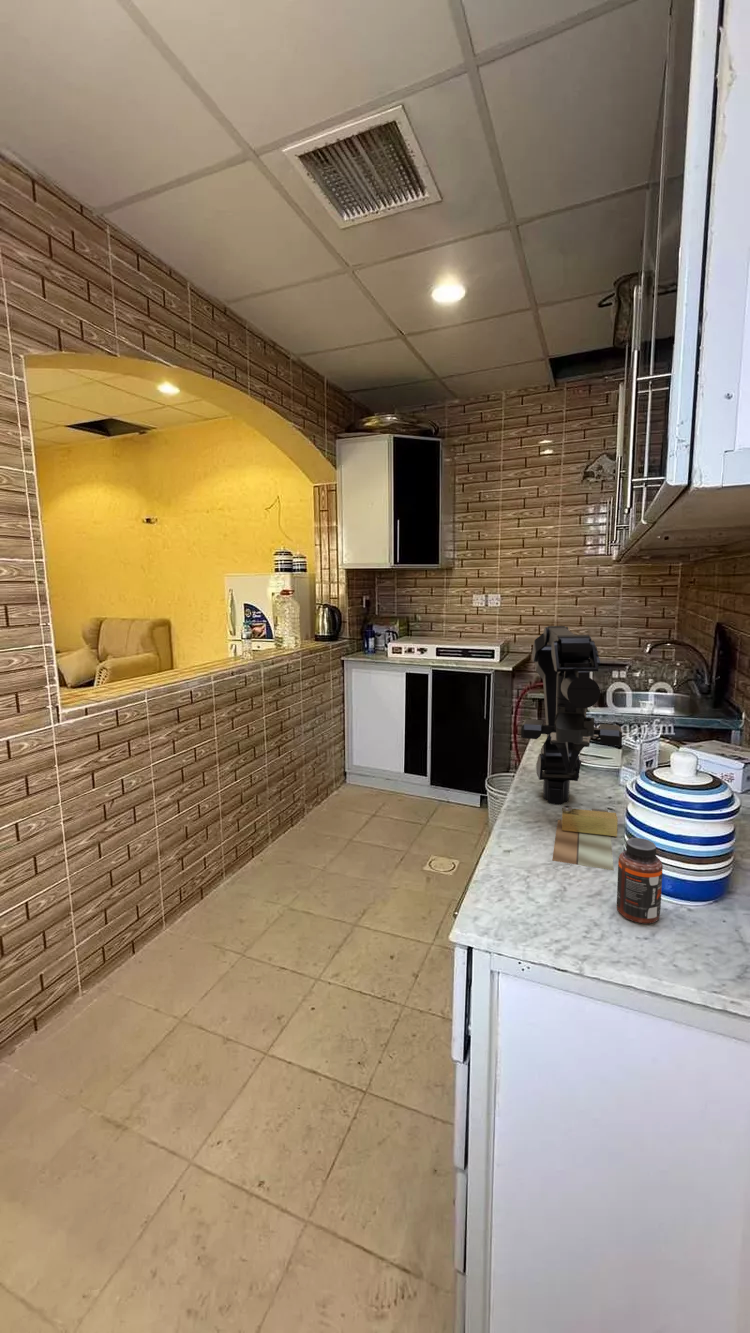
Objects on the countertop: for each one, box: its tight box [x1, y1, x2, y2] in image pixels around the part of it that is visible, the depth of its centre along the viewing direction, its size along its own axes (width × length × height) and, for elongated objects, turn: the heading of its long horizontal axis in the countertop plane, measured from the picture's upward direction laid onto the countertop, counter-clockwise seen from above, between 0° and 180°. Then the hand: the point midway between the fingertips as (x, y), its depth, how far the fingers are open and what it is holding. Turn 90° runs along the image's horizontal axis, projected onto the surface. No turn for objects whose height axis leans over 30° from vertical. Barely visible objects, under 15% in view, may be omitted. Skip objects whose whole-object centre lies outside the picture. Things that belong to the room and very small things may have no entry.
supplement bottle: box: [616, 837, 663, 924], centre depth 79 cm, size 6×6×11 cm
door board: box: [552, 819, 614, 871], centre depth 100 cm, size 18×10×1 cm, turn 158°
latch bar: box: [561, 805, 619, 837], centre depth 104 cm, size 10×3×4 cm, turn 72°
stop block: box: [591, 808, 609, 812], centre depth 106 cm, size 2×3×4 cm, turn 68°
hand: (569, 772), depth 107 cm, fingers closed
